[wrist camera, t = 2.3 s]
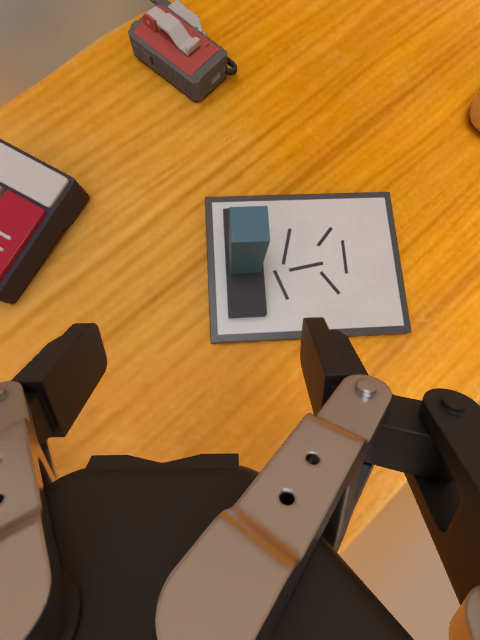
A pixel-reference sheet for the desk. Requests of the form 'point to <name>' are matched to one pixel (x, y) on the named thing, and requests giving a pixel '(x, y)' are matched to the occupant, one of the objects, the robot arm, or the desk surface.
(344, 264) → the whiteboard
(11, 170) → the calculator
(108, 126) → the desk surface
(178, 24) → the walkie-talkie
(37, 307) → the desk surface
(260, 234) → the eraser
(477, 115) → the plastic bottle
